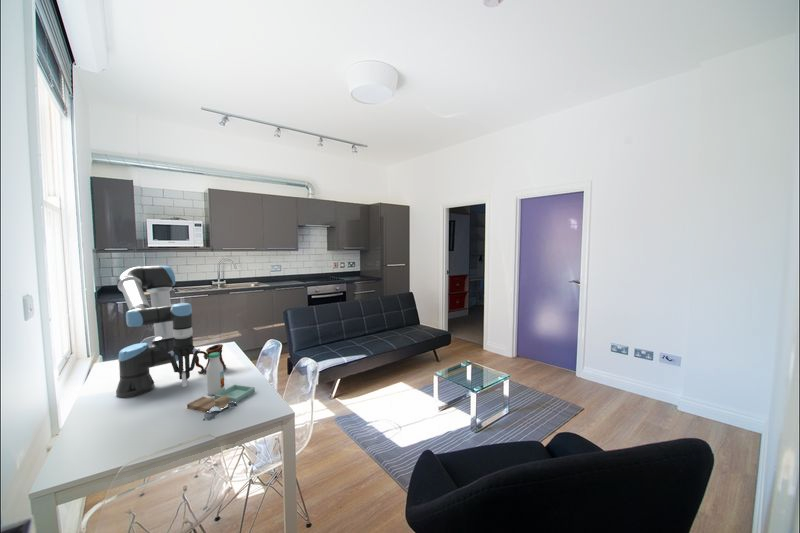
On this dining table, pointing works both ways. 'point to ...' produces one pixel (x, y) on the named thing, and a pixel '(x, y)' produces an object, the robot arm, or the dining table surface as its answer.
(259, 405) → the dining table surface
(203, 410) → the tan wooden board
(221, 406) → the block
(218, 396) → the tray
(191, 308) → the robot arm
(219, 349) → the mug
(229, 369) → the dining table surface
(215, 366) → the milk bottle
